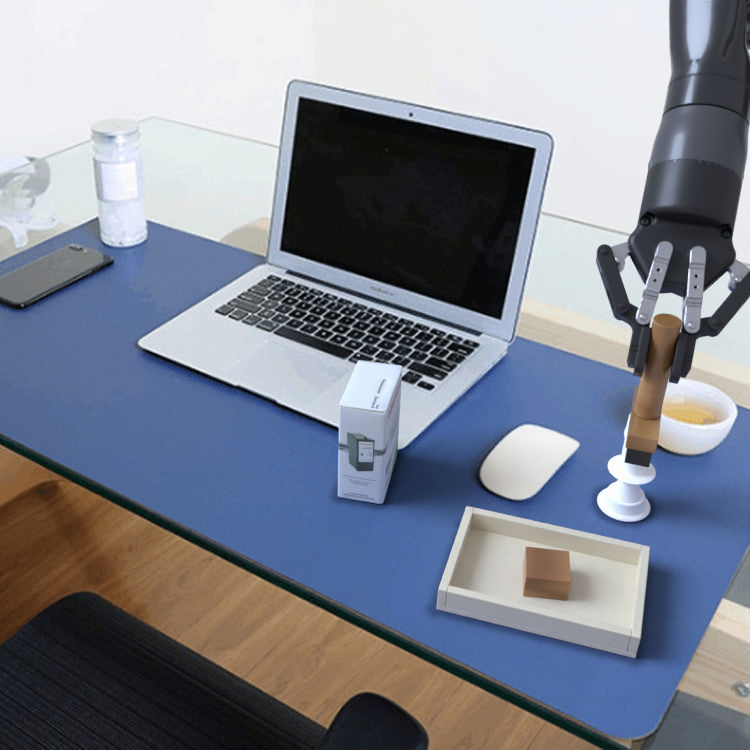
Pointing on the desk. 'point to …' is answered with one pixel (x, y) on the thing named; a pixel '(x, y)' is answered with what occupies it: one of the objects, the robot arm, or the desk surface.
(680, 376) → the robot arm
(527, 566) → the brown block
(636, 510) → the candle
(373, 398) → the ink box
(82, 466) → the desk surface
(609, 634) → the tray
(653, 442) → the brush
